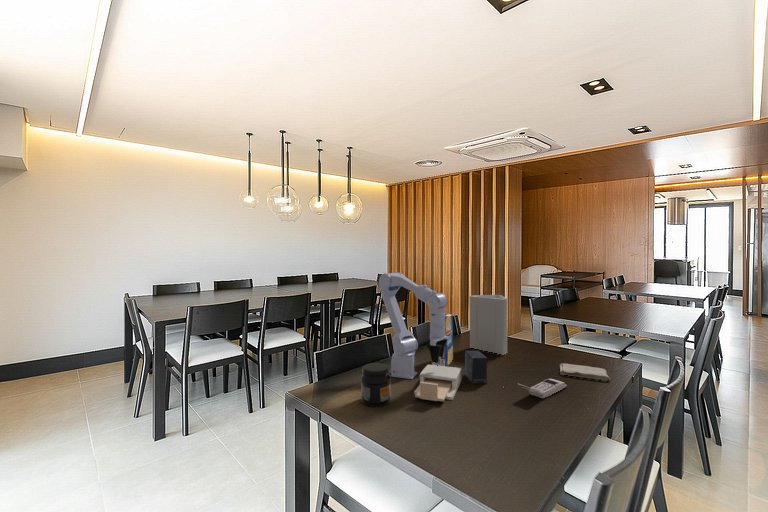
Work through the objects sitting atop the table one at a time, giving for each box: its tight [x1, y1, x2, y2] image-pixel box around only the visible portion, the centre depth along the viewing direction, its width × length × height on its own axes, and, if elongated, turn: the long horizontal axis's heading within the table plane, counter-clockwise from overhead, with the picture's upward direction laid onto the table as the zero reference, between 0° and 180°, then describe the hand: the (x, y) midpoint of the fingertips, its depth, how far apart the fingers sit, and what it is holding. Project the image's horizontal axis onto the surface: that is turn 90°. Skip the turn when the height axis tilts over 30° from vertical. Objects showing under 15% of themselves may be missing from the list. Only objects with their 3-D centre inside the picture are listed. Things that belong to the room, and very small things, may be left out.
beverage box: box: [431, 313, 454, 367], centre depth 167 cm, size 7×11×22 cm, turn 153°
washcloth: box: [559, 363, 611, 381], centre depth 151 cm, size 12×18×3 cm, turn 65°
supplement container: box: [360, 362, 392, 407], centre depth 126 cm, size 10×10×12 cm
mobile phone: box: [517, 378, 568, 399], centre depth 131 cm, size 6×6×25 cm
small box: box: [464, 350, 488, 385], centre depth 146 cm, size 11×6×10 cm, turn 3°
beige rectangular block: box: [414, 380, 452, 402], centre depth 130 cm, size 10×16×6 cm, turn 159°
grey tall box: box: [469, 294, 508, 356], centre depth 190 cm, size 19×15×28 cm
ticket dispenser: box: [413, 364, 463, 401], centre depth 138 cm, size 14×20×5 cm
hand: (437, 359), depth 139 cm, fingers open, 7 cm apart
